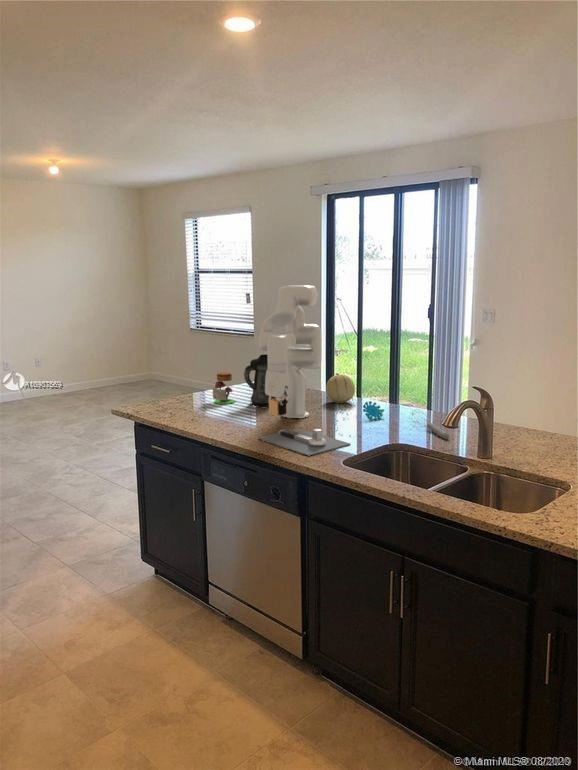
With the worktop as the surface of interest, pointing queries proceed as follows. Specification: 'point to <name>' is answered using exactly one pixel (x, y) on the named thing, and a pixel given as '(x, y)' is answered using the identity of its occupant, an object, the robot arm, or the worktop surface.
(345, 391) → the cantaloupe
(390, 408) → the worktop surface
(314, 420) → the worktop surface
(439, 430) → the kitchen whisk
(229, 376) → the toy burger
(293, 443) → the mat
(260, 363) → the beer stein
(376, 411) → the teal virus model
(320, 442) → the ratchet
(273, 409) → the wooden block
